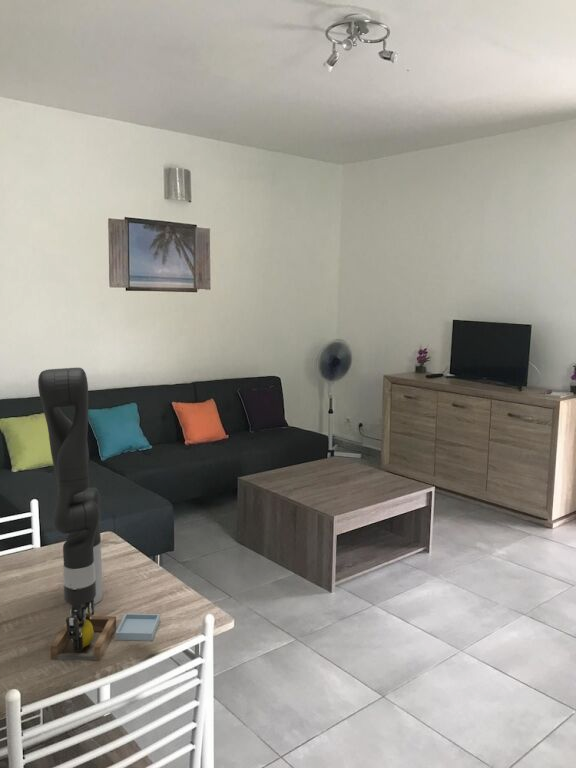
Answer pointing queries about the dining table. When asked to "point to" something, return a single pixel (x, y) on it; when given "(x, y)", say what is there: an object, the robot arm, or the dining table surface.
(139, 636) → the dish
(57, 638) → the wooden letter tray
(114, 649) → the dining table surface
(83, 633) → the lemon
